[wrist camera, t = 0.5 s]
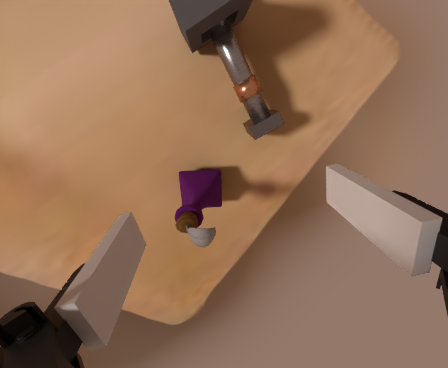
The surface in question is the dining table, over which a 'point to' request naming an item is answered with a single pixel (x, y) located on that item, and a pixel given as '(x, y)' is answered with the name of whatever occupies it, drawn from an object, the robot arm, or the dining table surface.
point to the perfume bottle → (198, 203)
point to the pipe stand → (244, 81)
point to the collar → (206, 17)
